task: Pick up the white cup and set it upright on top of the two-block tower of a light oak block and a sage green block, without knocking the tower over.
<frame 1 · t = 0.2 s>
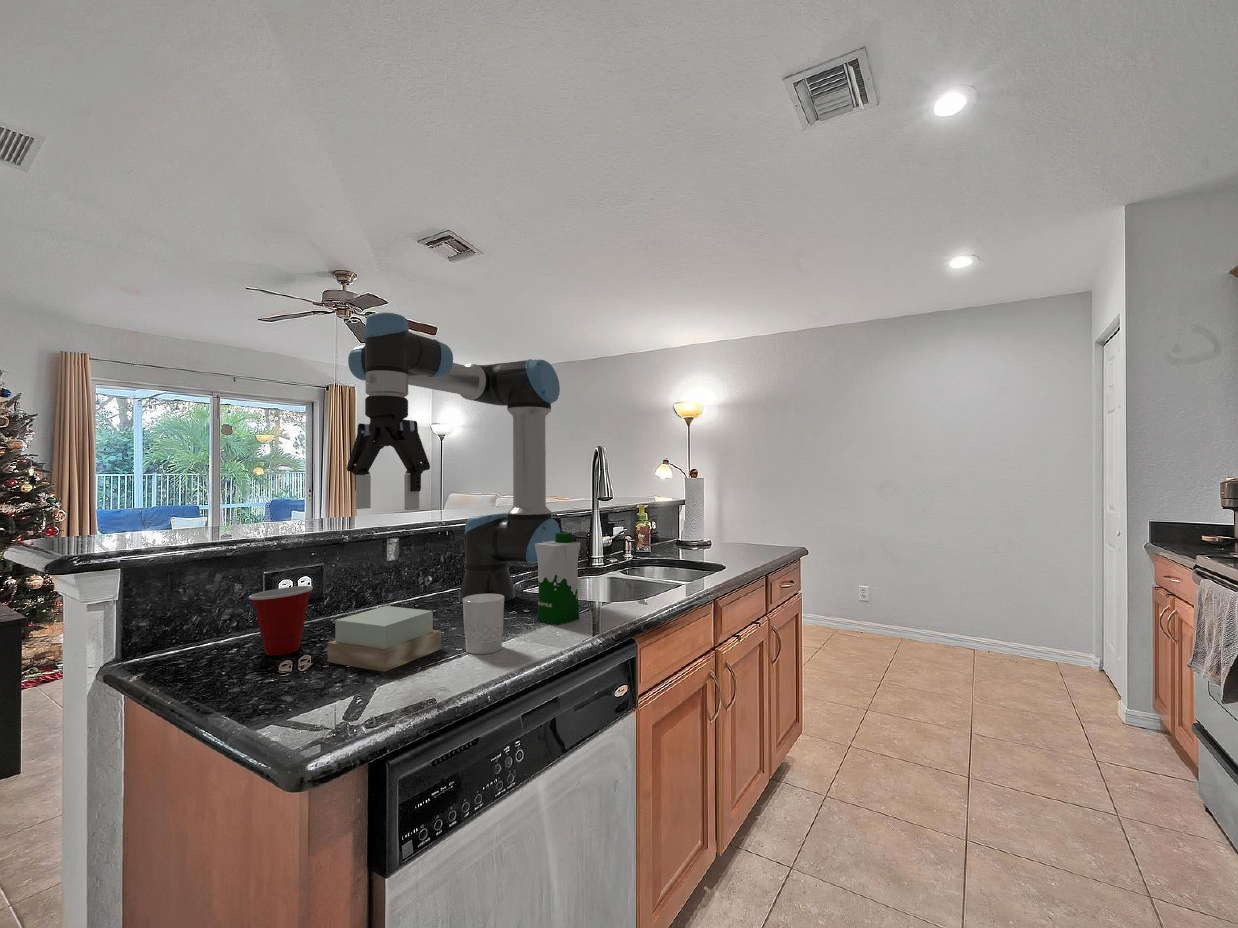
hand: (386, 509, 107), 27 cm above the worktop, tool pointing down, fingers open, 13 cm apart
milk carton: (558, 620, 132), on the worktop
white cup: (483, 650, 110), on the worktop
tower top: (385, 636, 107), point 3 cm above the worktop
tower base: (386, 657, 107), on the worktop
plastic cup: (281, 652, 110), on the worktop
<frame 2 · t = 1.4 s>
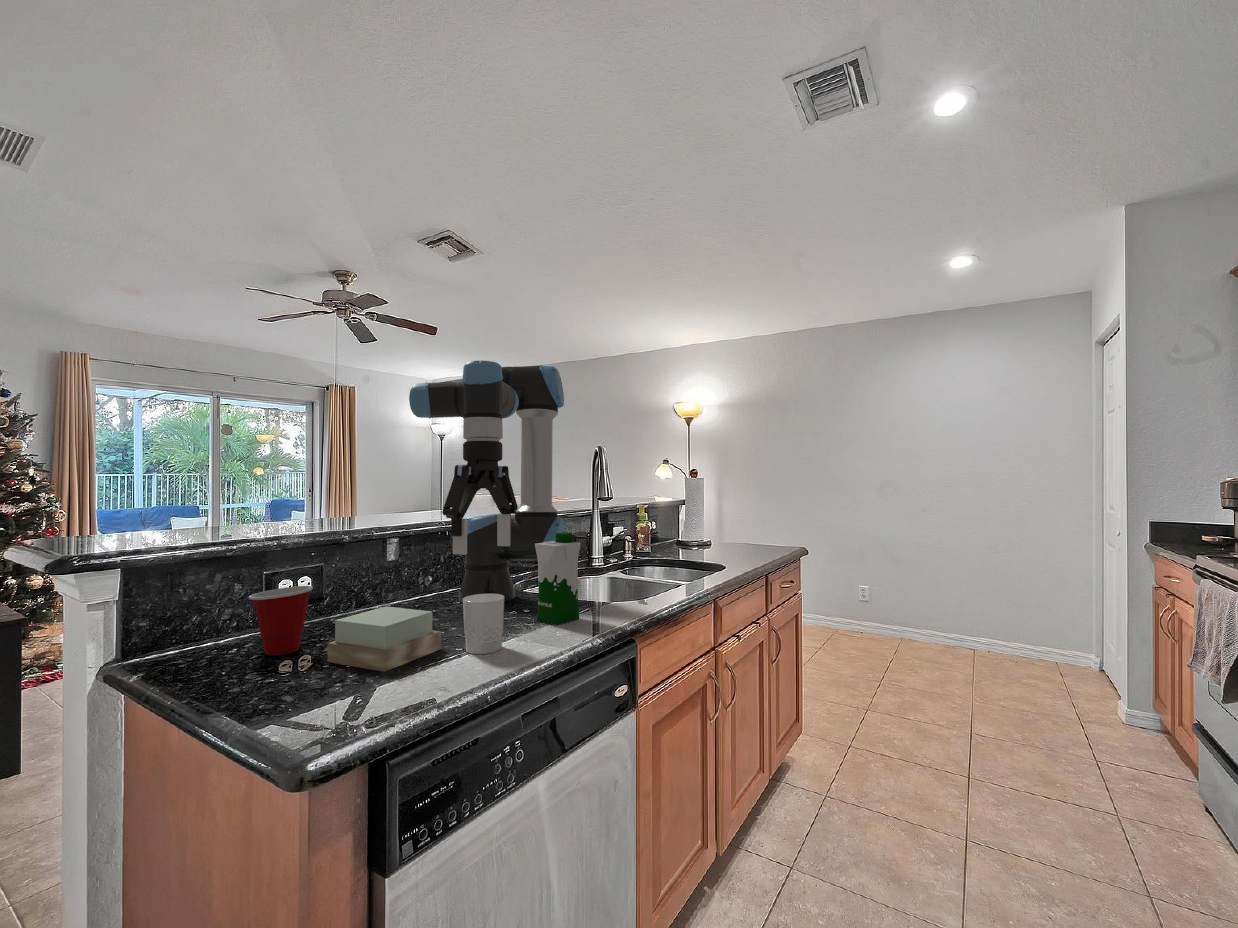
hand: (483, 549, 110), 19 cm above the worktop, tool pointing down, fingers open, 13 cm apart
tower top: (385, 636, 107), point 3 cm above the worktop, touching tower base
tower base: (386, 658, 107), on the worktop, touching tower top
everything else where it was.
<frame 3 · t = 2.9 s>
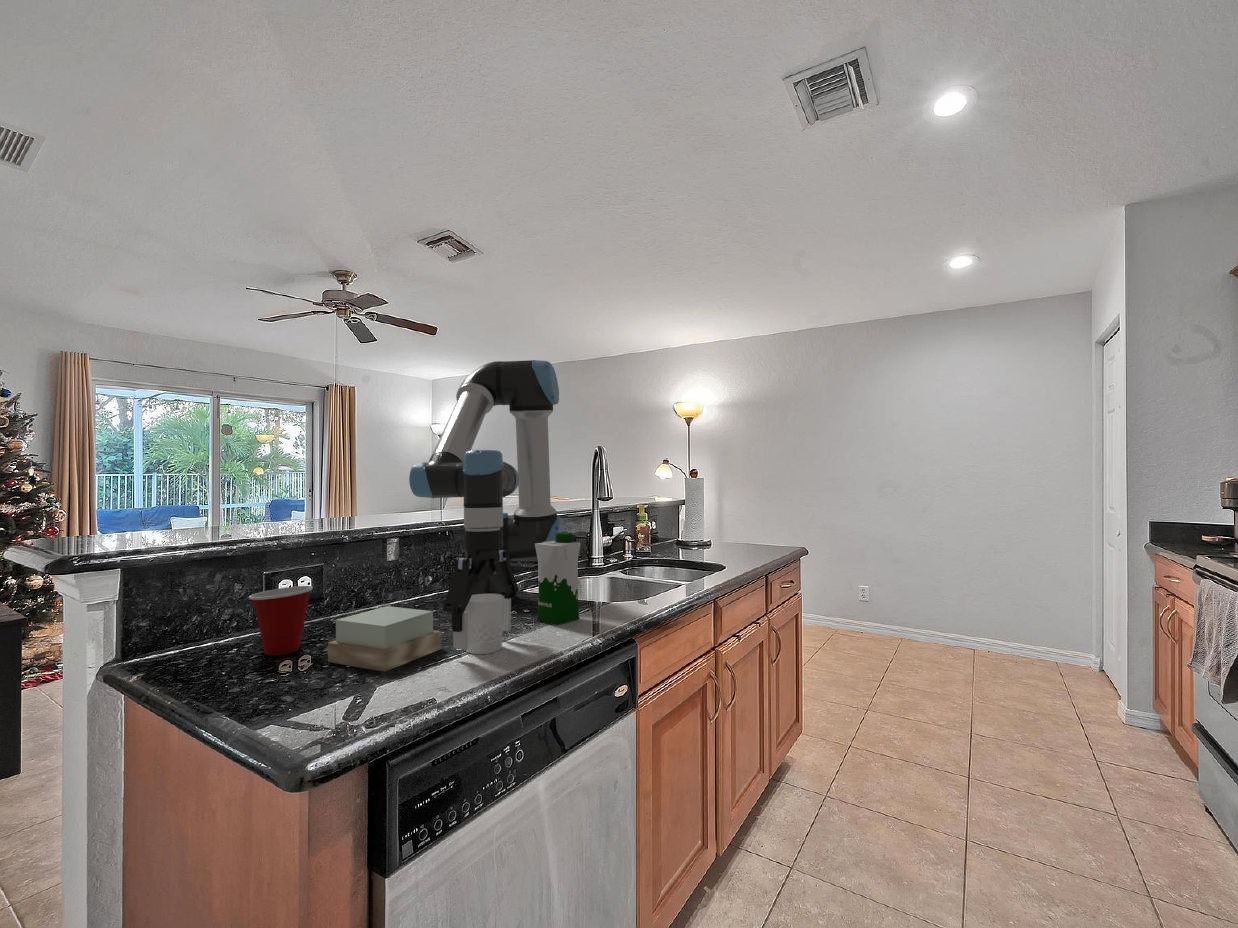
hand: (483, 639, 110), 2 cm above the worktop, tool pointing down, fingers open, 13 cm apart
nothing on the worktop moved.
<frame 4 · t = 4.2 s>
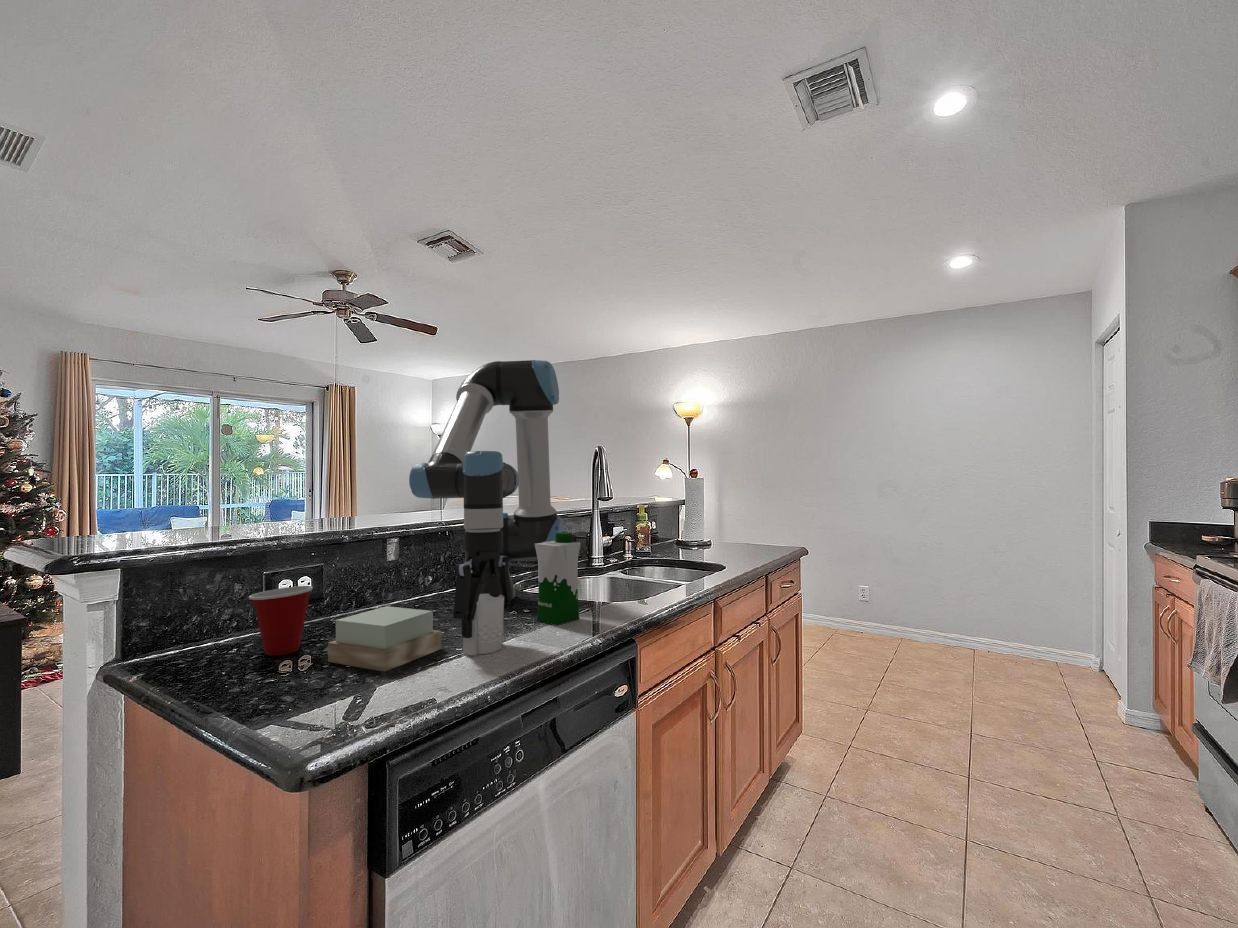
hand: (483, 647, 110), 0 cm above the worktop, tool pointing down, fingers closed on white cup, 8 cm apart
white cup: (483, 650, 110), on the worktop, touching gripper
everything else where it was.
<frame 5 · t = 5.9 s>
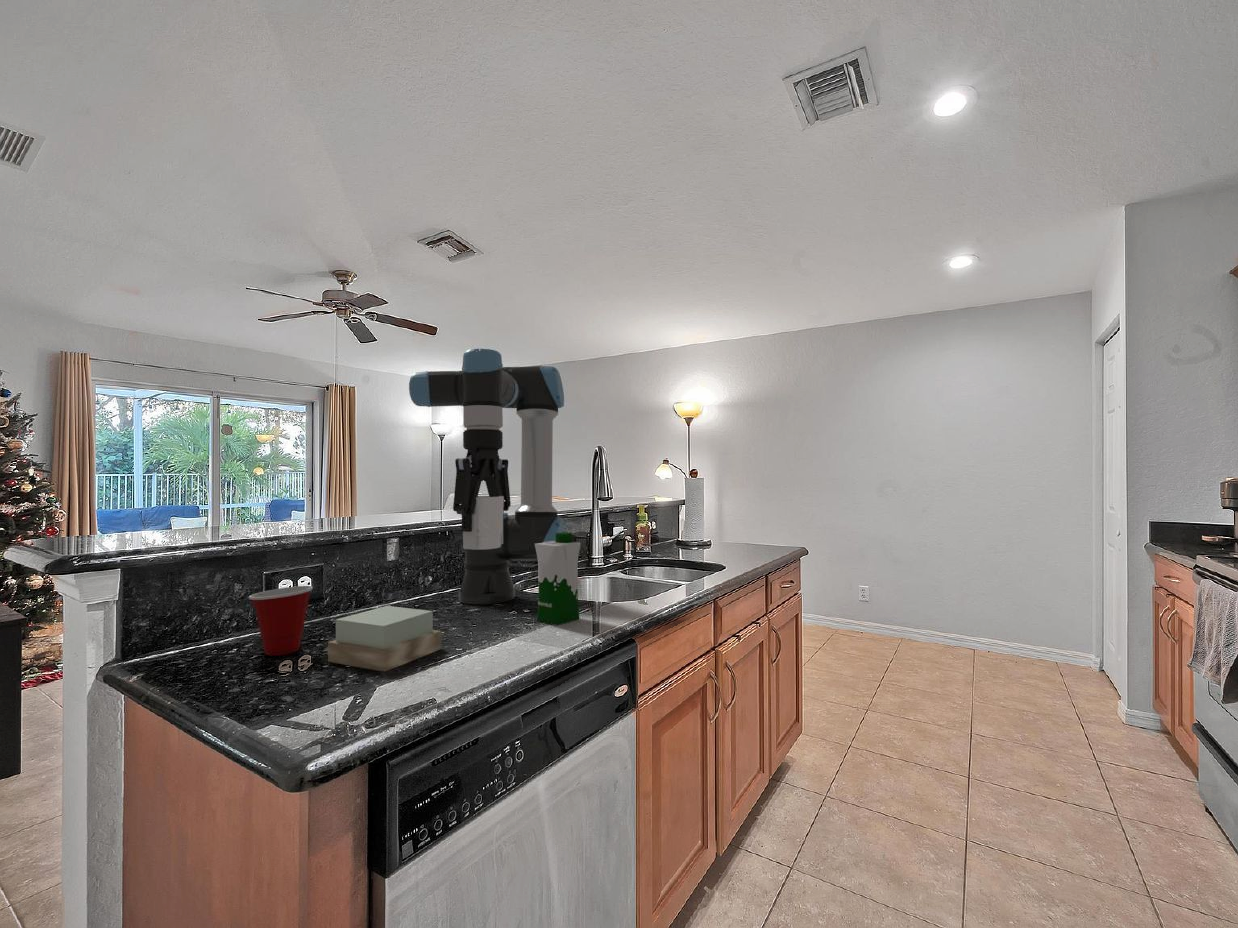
hand: (483, 545, 111), 20 cm above the worktop, tool pointing down, fingers closed on white cup, 7 cm apart
white cup: (483, 548, 111), point 19 cm above the worktop, touching gripper
everything else where it was.
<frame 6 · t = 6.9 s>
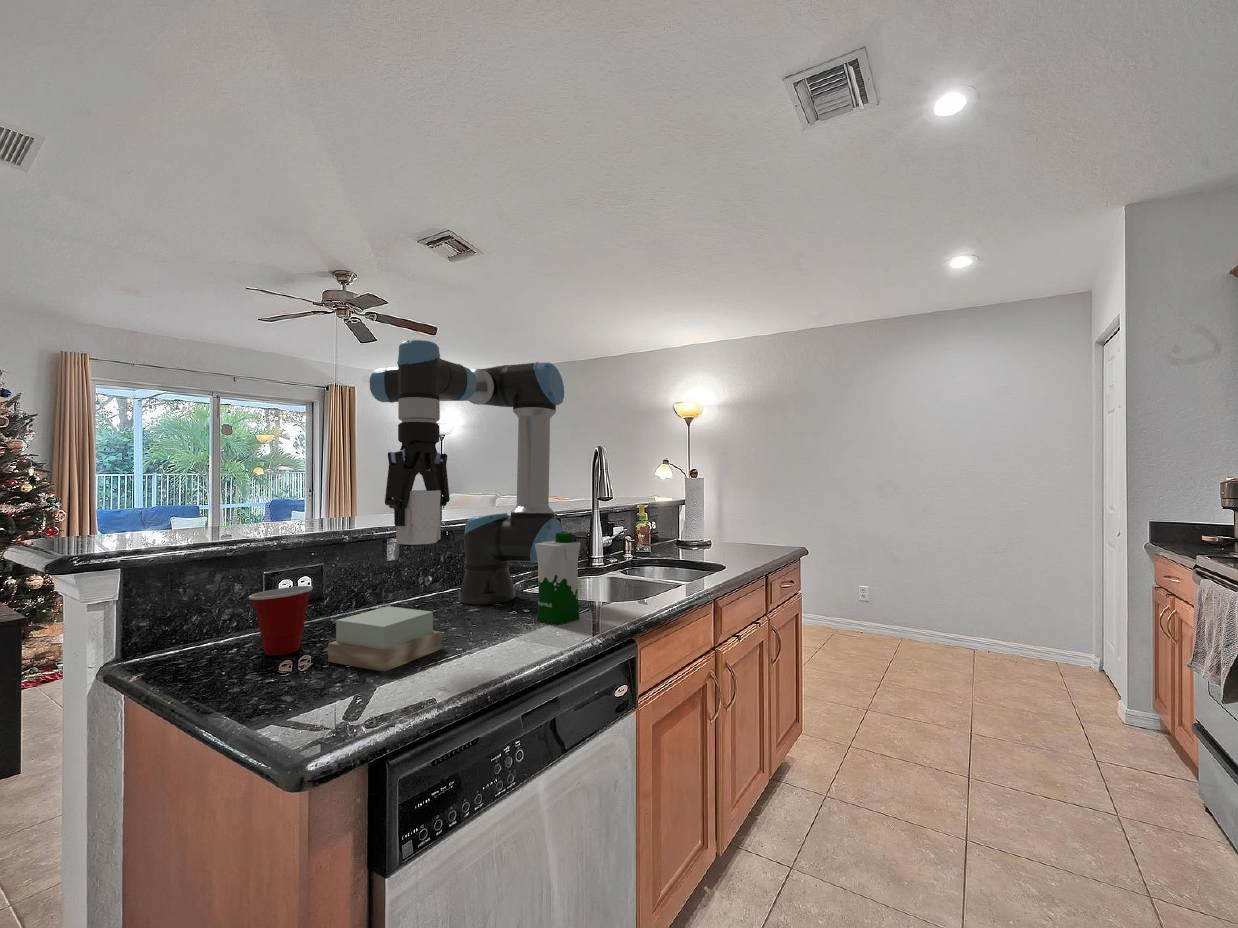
hand: (419, 541, 108), 21 cm above the worktop, tool pointing down, fingers closed on white cup, 7 cm apart
white cup: (419, 543, 108), point 21 cm above the worktop, touching gripper
everything else where it was.
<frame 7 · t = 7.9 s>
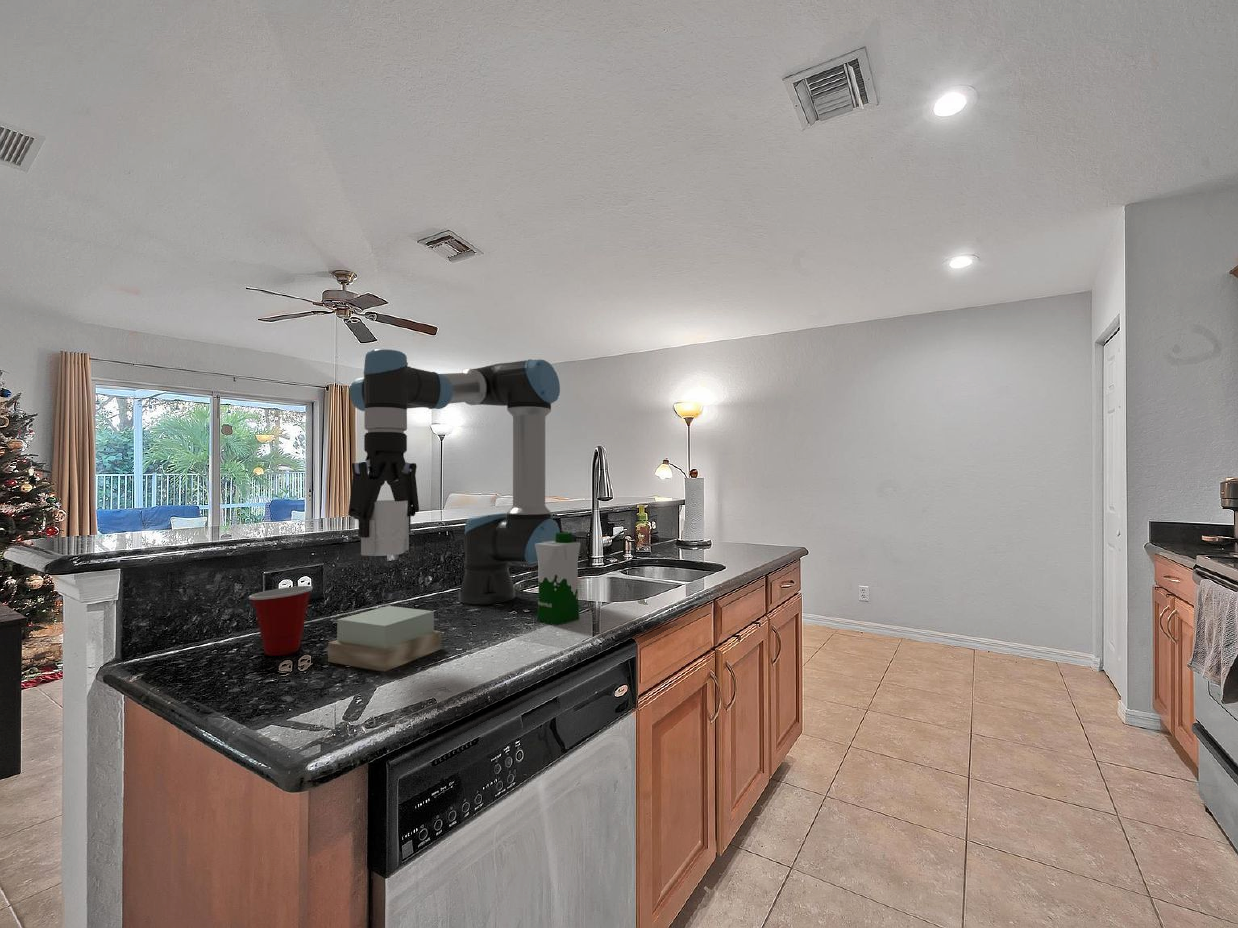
hand: (385, 552, 107), 19 cm above the worktop, tool pointing down, fingers closed on white cup, 7 cm apart
white cup: (385, 554, 107), point 19 cm above the worktop, touching gripper
everything else where it was.
when the fingers open (10 cm above the worktop, at t = 10.3 s): white cup drops 2 cm, resting on tower top.
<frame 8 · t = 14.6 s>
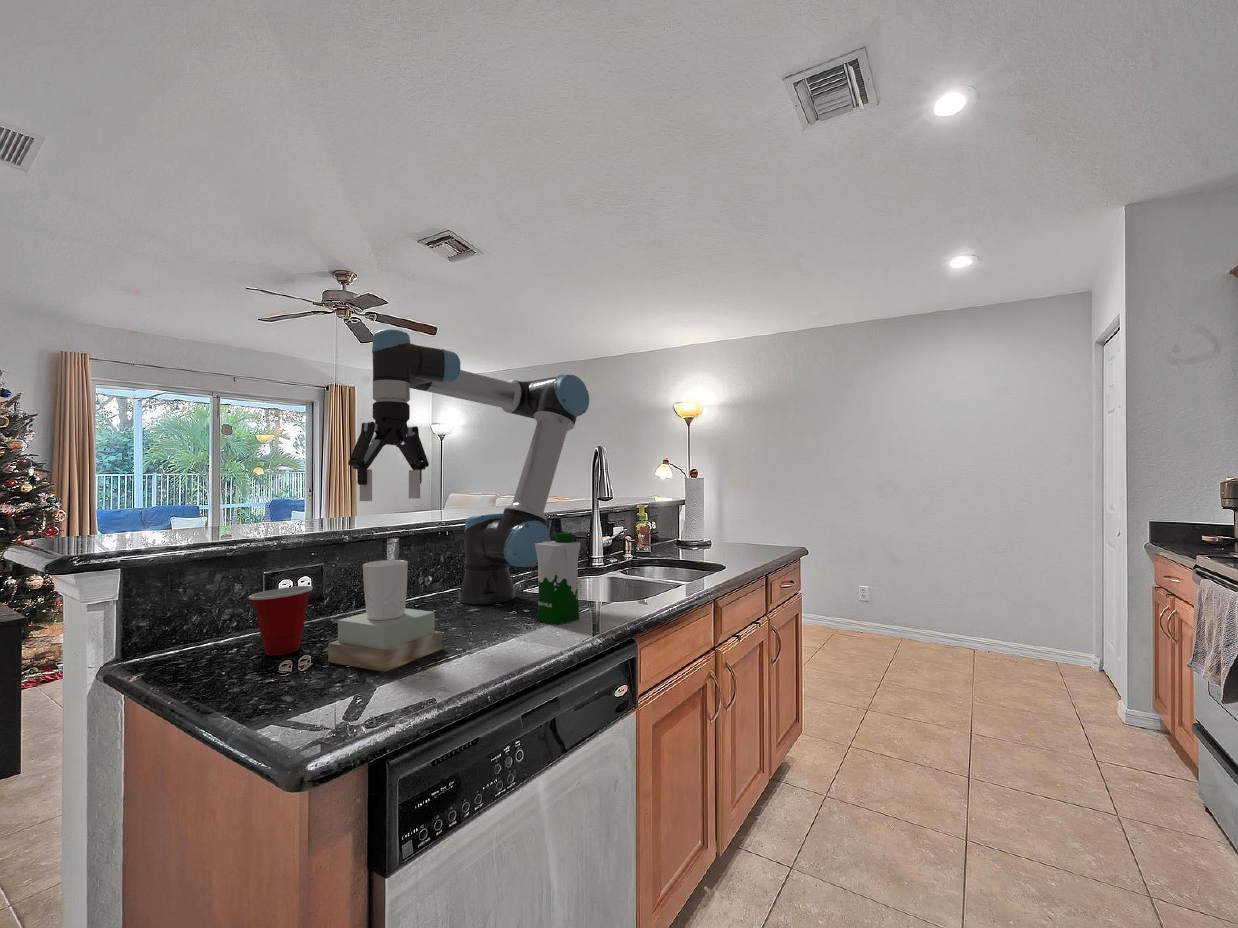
hand: (391, 499, 123), 29 cm above the worktop, tool pointing down, fingers open, 13 cm apart
white cup: (386, 617, 107), point 7 cm above the worktop, touching tower top
tower top: (387, 637, 107), point 3 cm above the worktop, touching white cup, tower base
everything else where it was.
at the end: white cup 0.3 cm off-centre on the tower top, point 3.8 cm above the tower top's base; tower top 0.1 cm off-centre on the tower base, point 4.0 cm above the tower base's base; white cup tilted 0° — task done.
